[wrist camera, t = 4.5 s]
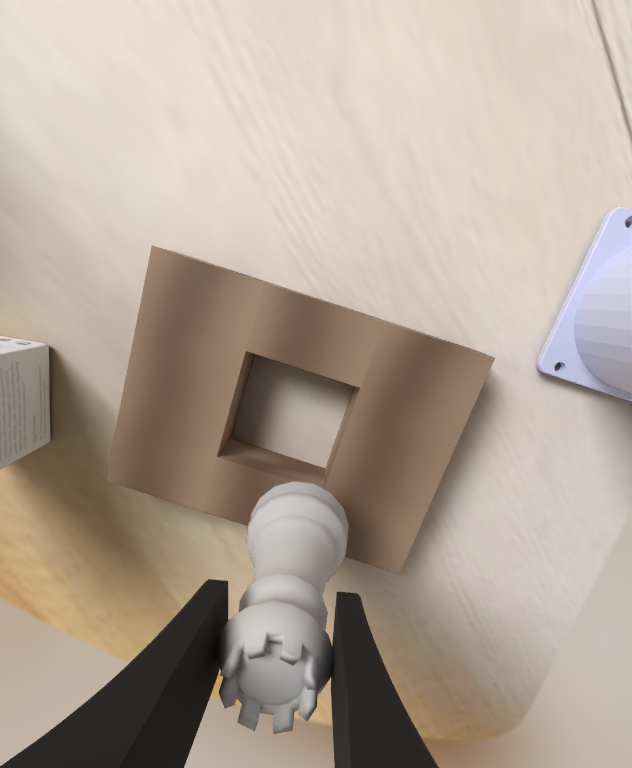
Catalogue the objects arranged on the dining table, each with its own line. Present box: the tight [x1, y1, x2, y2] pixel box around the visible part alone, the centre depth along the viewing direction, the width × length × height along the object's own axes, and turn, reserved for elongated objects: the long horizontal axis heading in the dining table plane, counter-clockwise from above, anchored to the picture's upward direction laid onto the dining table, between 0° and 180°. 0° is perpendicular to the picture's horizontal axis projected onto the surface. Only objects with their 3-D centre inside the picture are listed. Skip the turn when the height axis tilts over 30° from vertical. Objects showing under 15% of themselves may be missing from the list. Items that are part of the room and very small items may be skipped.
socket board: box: [106, 246, 495, 574], centre depth 19 cm, size 16×12×2 cm
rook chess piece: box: [216, 481, 349, 734], centre depth 13 cm, size 4×4×8 cm
